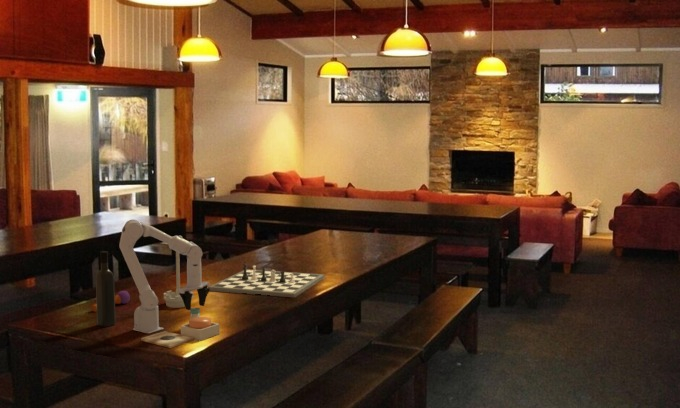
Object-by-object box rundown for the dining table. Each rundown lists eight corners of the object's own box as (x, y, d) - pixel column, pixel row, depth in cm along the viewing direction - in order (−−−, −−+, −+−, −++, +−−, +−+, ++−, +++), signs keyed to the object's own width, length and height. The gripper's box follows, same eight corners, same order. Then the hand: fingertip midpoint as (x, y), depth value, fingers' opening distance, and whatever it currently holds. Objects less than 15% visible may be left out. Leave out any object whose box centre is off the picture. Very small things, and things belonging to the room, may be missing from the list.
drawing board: (141, 340, 278) (140, 338, 278) (165, 332, 288) (165, 330, 288) (170, 348, 269) (170, 345, 269) (194, 340, 279) (194, 337, 279)
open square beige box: (180, 335, 284) (180, 325, 284) (200, 329, 292) (200, 319, 292) (200, 340, 278) (200, 330, 278) (219, 334, 287) (219, 324, 286)
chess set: (207, 292, 359) (207, 269, 357) (245, 273, 401) (245, 253, 400) (294, 299, 346) (294, 275, 344) (324, 279, 388) (324, 257, 387)
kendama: (87, 302, 320) (121, 289, 337) (90, 315, 321) (124, 302, 338) (96, 301, 317) (131, 288, 334) (100, 314, 317) (134, 301, 335)
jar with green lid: (188, 326, 298) (188, 309, 297) (195, 323, 301) (195, 307, 300) (195, 327, 295) (194, 310, 295) (202, 325, 298) (201, 308, 298)
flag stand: (186, 308, 324) (185, 241, 321) (158, 307, 327) (157, 240, 323) (198, 301, 337) (196, 236, 334) (171, 300, 340) (169, 235, 336)
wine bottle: (108, 322, 303) (106, 249, 299) (116, 324, 299) (114, 251, 296) (96, 325, 298) (93, 251, 295) (104, 327, 295) (101, 253, 291)
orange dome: (184, 329, 284) (184, 320, 284) (200, 324, 291) (200, 315, 290) (200, 333, 279) (199, 324, 279) (215, 327, 286) (215, 319, 286)
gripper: (187, 278, 287) (188, 312, 289) (214, 272, 299) (215, 305, 301) (175, 276, 291) (176, 310, 293) (201, 270, 303) (202, 302, 305)
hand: (195, 307), depth 297 cm, fingers open, 7 cm apart
